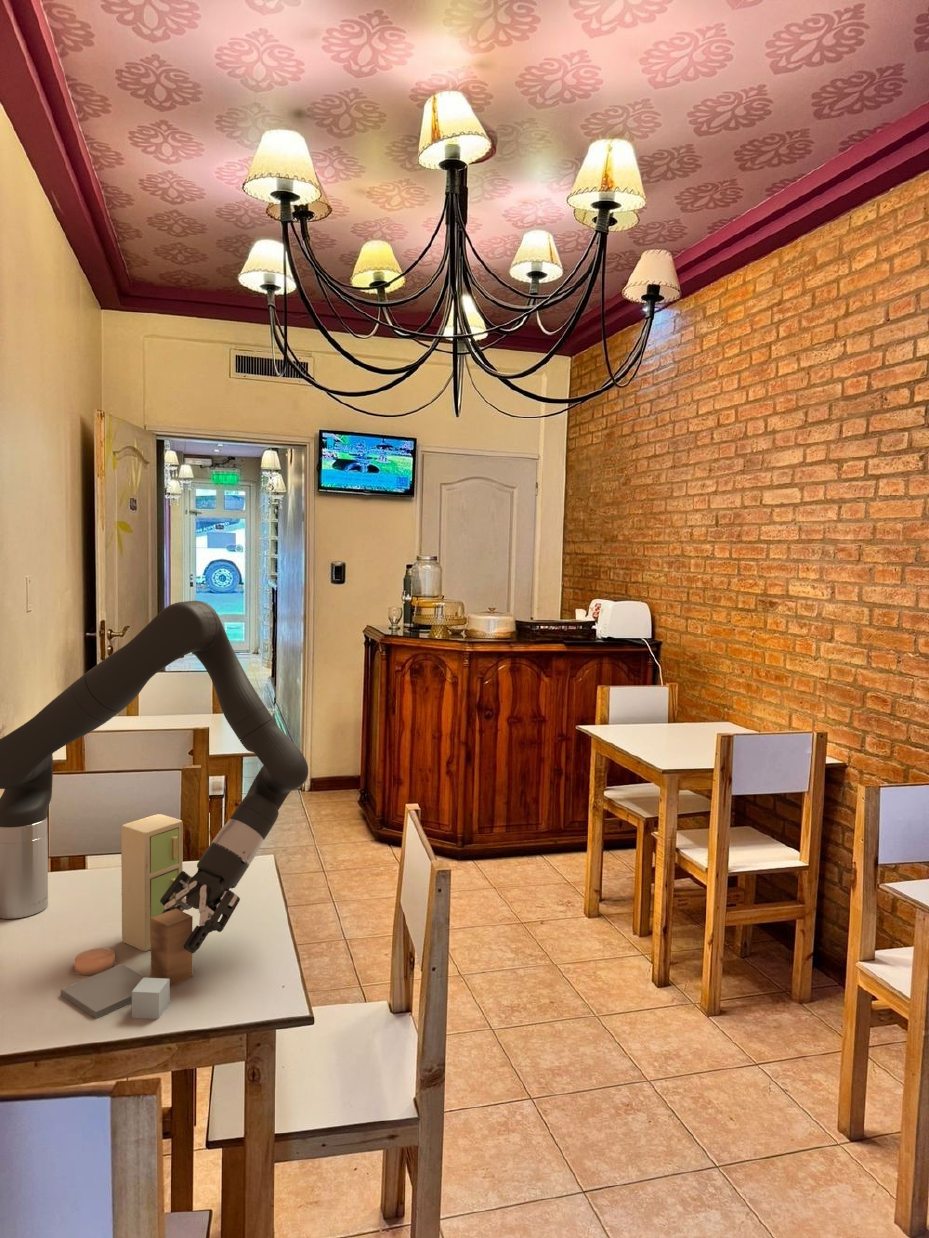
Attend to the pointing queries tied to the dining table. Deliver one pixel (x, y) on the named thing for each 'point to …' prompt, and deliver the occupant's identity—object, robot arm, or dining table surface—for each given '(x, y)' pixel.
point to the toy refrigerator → (148, 873)
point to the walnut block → (171, 946)
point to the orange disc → (94, 961)
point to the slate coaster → (103, 990)
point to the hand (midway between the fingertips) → (171, 942)
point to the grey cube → (150, 998)
